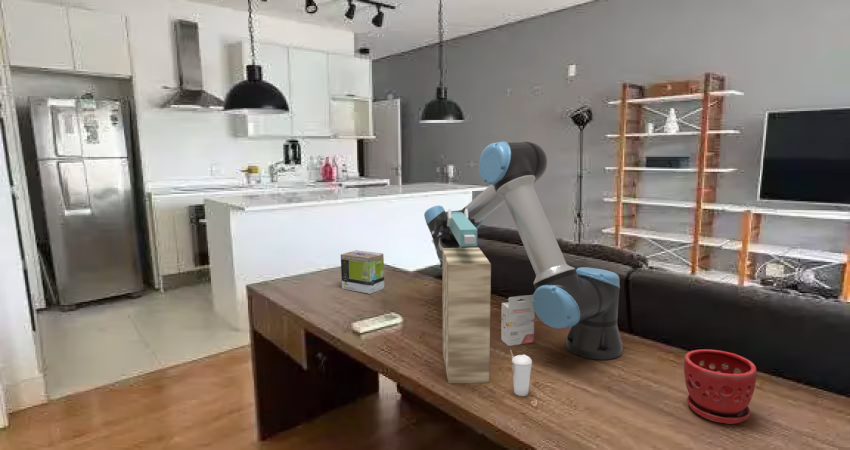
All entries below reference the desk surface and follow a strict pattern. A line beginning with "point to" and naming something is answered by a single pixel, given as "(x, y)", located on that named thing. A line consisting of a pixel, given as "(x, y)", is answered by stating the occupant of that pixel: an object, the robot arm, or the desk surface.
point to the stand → (466, 314)
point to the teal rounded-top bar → (463, 229)
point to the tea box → (362, 271)
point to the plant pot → (719, 385)
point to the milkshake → (521, 374)
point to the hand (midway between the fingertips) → (458, 213)
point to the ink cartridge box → (517, 321)
